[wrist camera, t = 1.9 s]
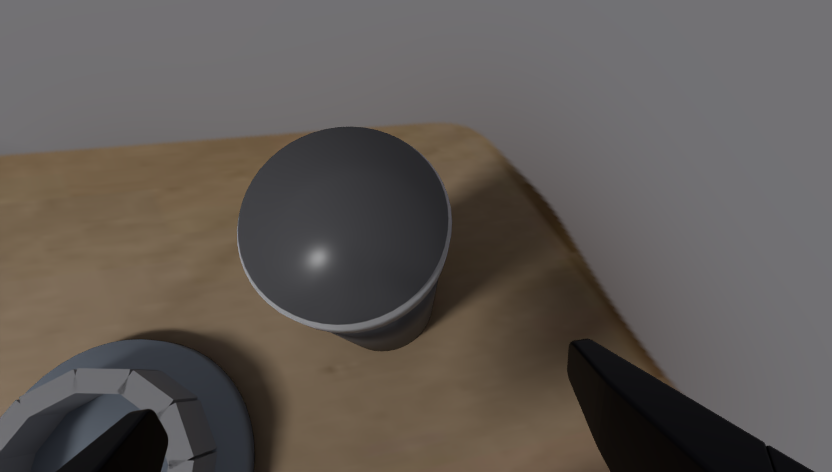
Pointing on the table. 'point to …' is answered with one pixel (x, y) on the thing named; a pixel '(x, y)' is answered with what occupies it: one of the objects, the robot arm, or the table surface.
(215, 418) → the ring
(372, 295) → the grey domed cylinder
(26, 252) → the table surface
